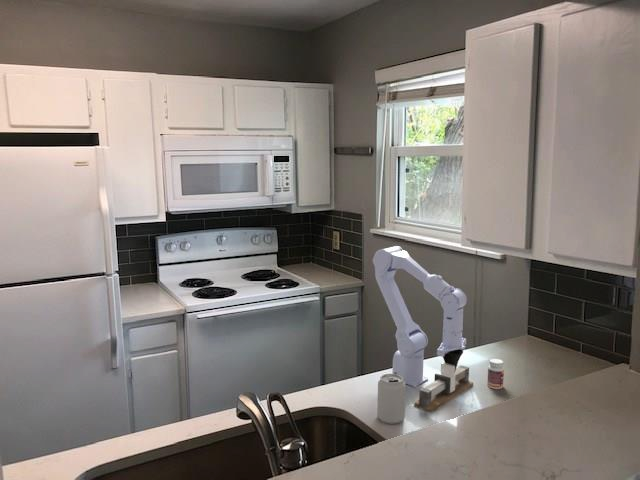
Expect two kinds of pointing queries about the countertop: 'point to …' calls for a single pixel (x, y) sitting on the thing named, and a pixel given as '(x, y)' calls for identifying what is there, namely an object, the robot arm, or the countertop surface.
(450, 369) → the sleeve
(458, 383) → the pipe board
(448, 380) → the grey square plate
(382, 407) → the can
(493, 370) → the pill bottle
